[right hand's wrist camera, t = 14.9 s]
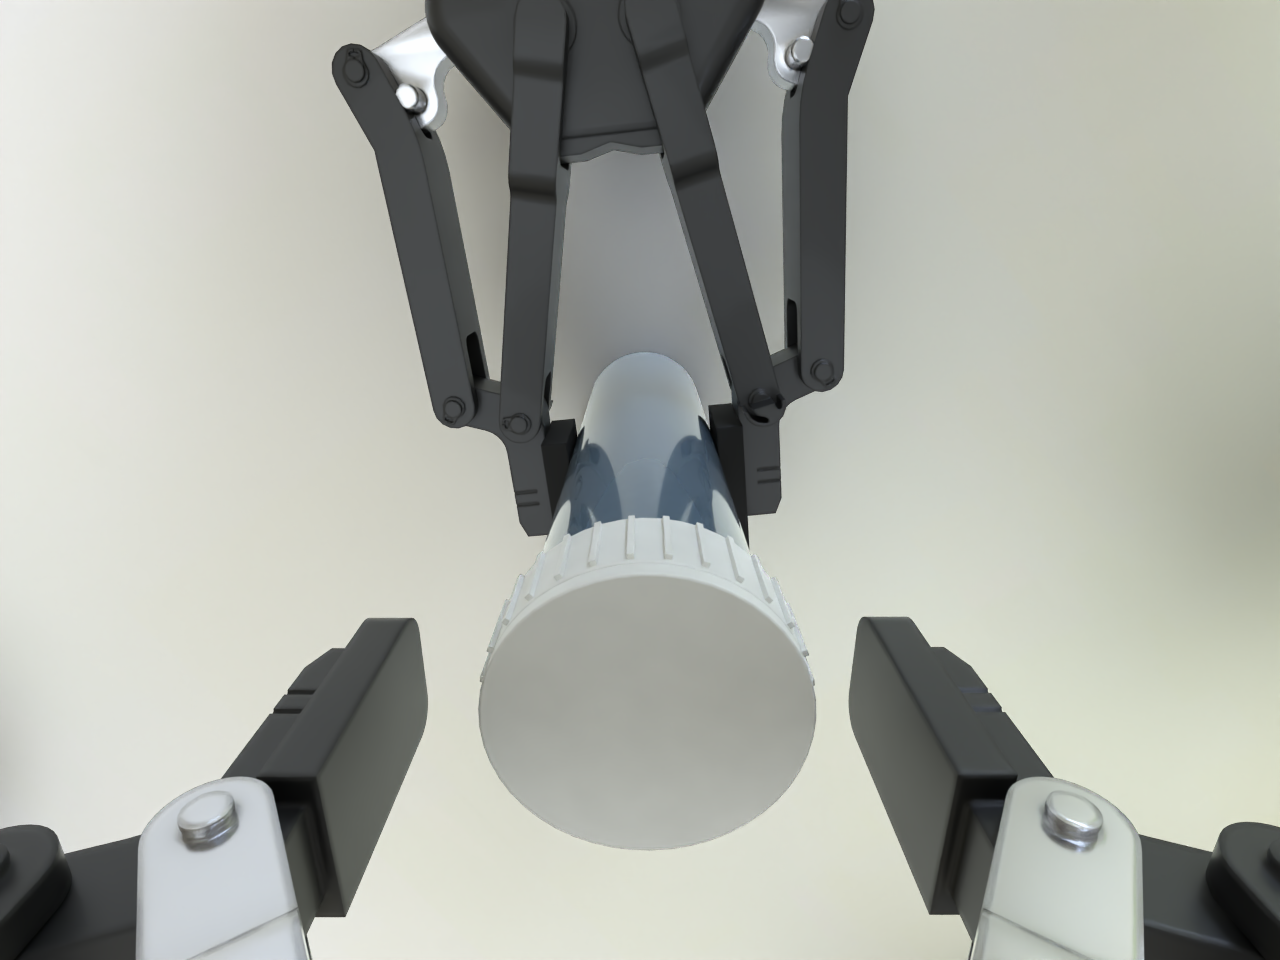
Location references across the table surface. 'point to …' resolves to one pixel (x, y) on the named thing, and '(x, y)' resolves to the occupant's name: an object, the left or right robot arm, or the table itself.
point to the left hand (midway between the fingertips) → (660, 605)
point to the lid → (647, 687)
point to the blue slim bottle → (644, 454)
